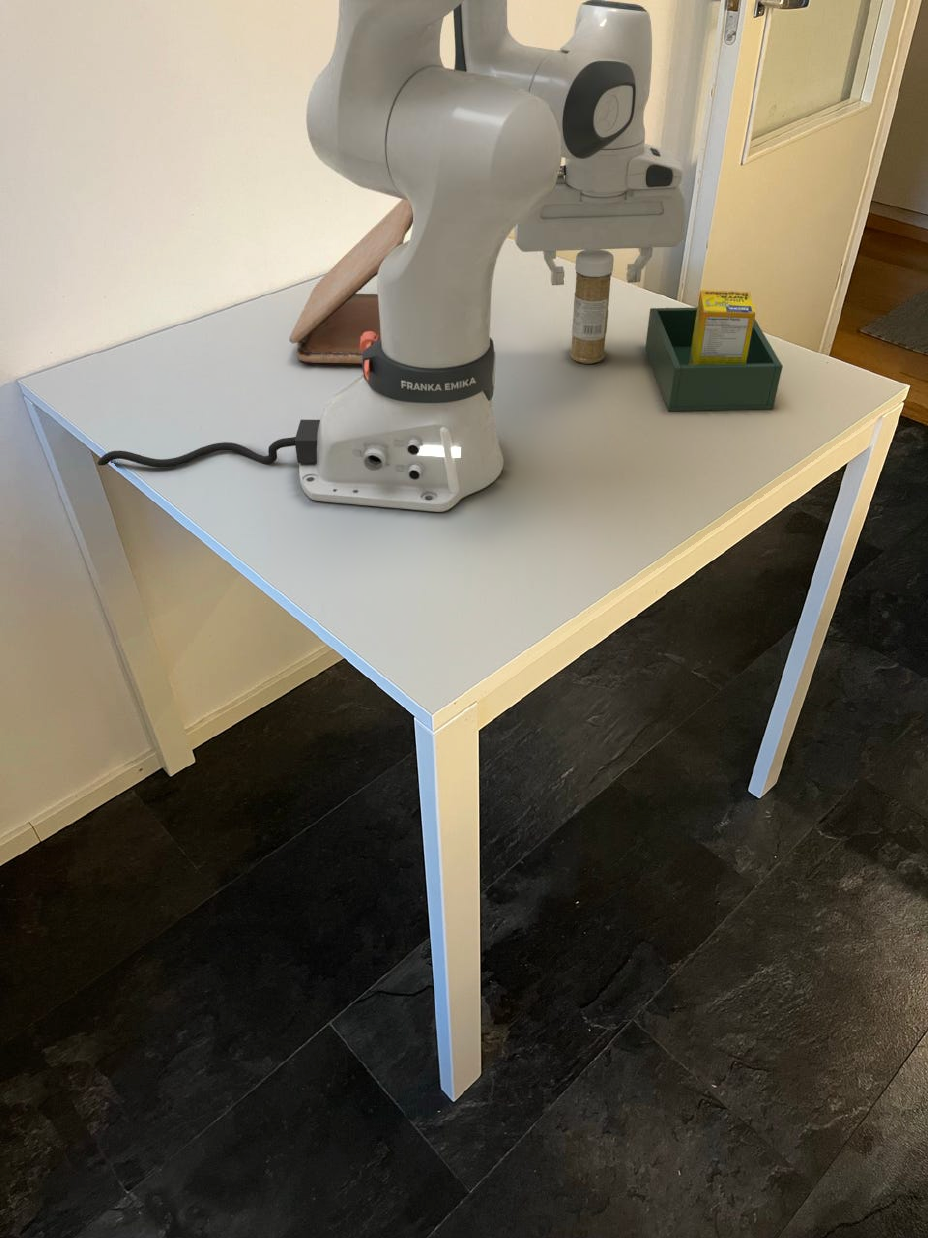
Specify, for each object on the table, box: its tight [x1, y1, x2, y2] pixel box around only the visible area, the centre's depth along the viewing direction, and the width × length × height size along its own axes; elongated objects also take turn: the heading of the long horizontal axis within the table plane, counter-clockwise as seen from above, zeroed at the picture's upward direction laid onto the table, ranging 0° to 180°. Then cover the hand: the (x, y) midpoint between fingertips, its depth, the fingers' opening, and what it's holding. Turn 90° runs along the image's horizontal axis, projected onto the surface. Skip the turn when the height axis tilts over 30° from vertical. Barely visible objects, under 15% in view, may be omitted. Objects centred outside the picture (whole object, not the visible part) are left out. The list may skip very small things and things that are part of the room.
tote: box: [644, 306, 784, 412], centre depth 119 cm, size 13×17×6 cm
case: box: [288, 199, 413, 365], centre depth 126 cm, size 20×21×16 cm
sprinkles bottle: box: [569, 249, 614, 365], centre depth 121 cm, size 5×5×13 cm
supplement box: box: [689, 290, 756, 365], centre depth 114 cm, size 6×6×11 cm
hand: (595, 282), depth 119 cm, fingers open, 8 cm apart
